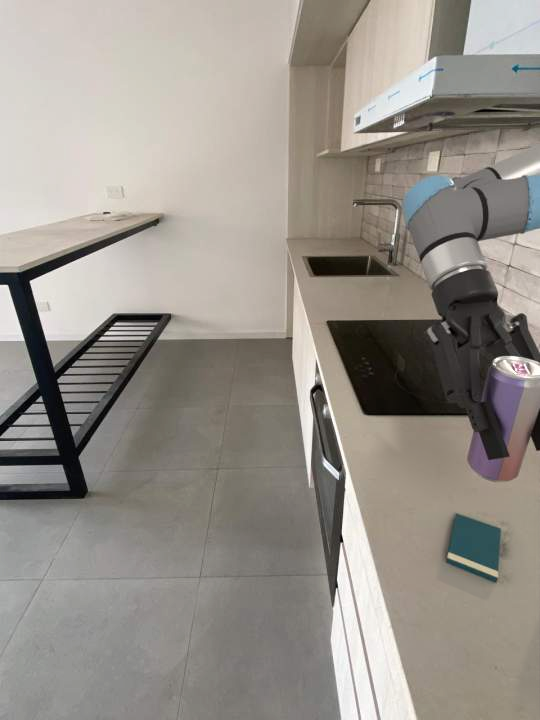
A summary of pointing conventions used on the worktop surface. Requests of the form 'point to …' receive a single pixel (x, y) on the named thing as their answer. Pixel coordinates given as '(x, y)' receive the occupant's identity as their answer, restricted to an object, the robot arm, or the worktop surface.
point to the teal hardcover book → (475, 547)
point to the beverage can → (508, 415)
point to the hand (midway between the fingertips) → (523, 453)
